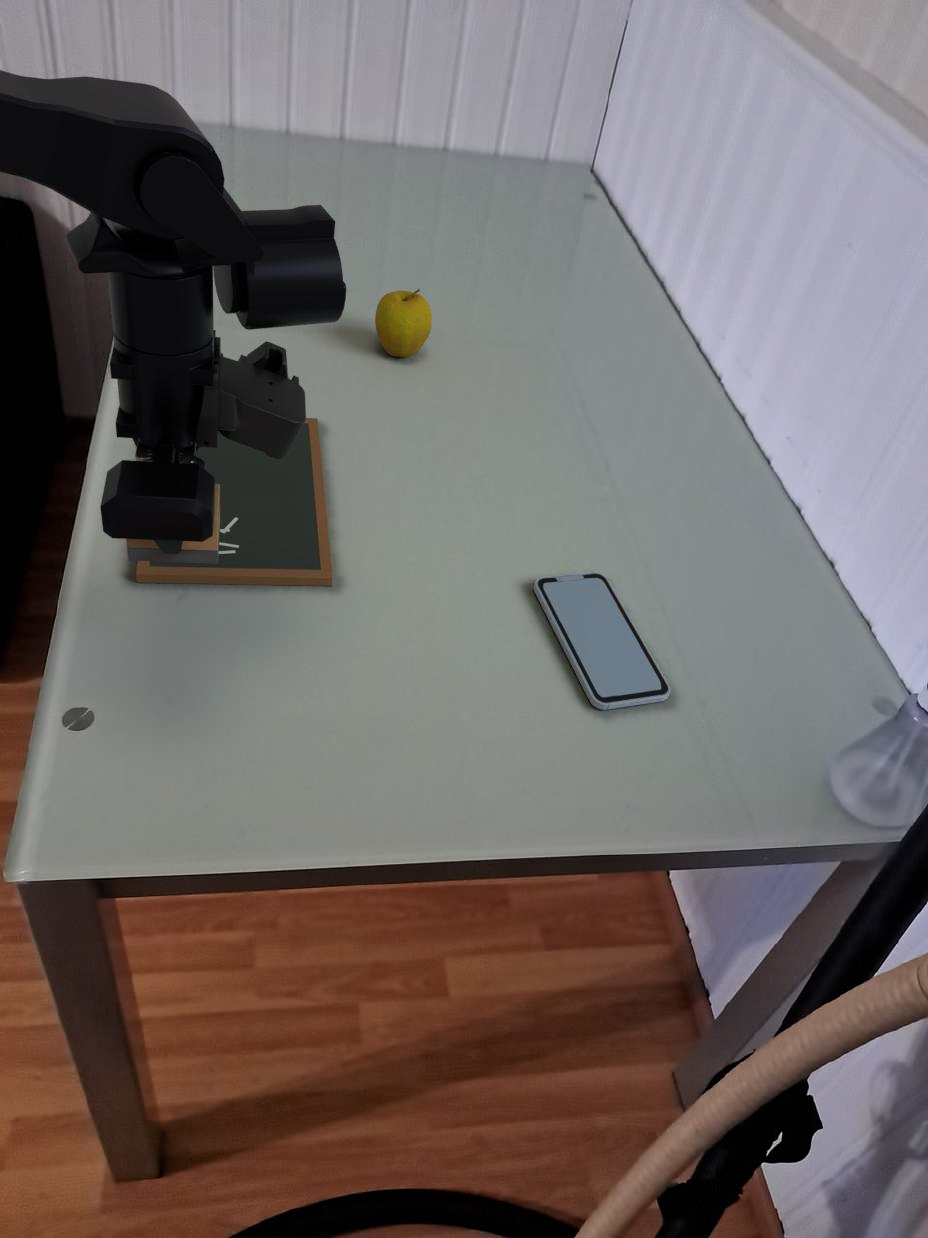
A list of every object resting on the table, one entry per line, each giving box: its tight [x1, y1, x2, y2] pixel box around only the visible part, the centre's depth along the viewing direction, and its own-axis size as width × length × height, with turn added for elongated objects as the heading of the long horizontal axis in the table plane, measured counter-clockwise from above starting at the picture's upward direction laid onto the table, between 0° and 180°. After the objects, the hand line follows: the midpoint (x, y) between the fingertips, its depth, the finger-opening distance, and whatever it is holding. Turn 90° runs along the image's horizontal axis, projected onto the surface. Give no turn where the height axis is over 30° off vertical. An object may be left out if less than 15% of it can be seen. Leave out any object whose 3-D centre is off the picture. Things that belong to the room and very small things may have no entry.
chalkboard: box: [135, 417, 334, 587], centre depth 88 cm, size 16×24×1 cm, turn 9°
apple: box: [374, 288, 433, 358], centre depth 110 cm, size 6×6×8 cm
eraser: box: [125, 484, 220, 564], centre depth 67 cm, size 6×4×4 cm, turn 98°
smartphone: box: [533, 571, 672, 711], centre depth 83 cm, size 7×1×15 cm
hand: (174, 532), depth 67 cm, fingers closed on eraser, 4 cm apart
